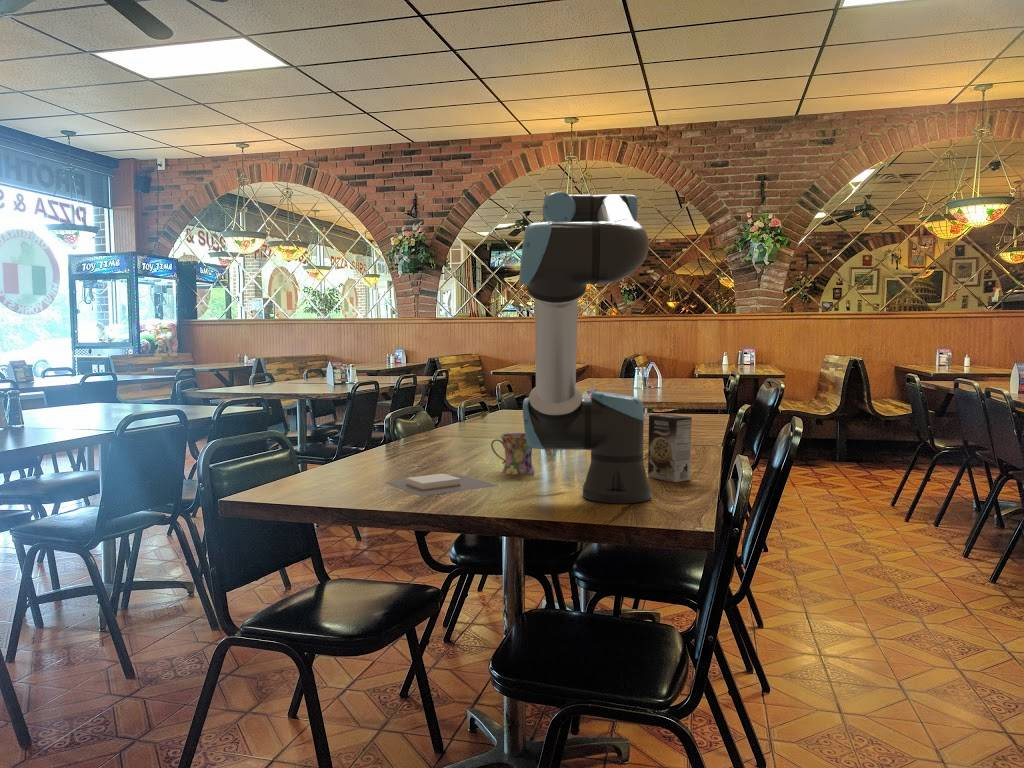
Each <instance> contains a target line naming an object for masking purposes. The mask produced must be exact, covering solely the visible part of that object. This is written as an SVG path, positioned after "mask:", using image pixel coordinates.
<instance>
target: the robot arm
mask: <svg viewBox="0 0 1024 768" xmlns="http://www.w3.org/2000/svg"><path fill="white" fill-rule="evenodd" d="M638 204H639V203H638V198H637V196H636V195H634V194H626V193H619V194H569V193H567V192H564V191H556V192H552V193H549V194H546V195H545V196H544V198H543V205H542V217H543V221H542V222H541V221H540V222H531V223H529V224H528V225H527V226H526V227H525V229H524V233H523V241H522V250H521V257H520V258H521V259H520V260H521V261H520V267H519V279H518V280H519V281H518V282H519V284H521V285H523V286H526V291H527V294H528V295H529V296H530V297H531V298H532V299H533V300H534V336H535V337H534V339H535V340H534V341H535V346H534V347H535V349H534V350H535V352H534V353H535V387H533V388H532V389H531V391H530V393H529V395H528V397H525V398H524V399H523V402H522V418H523V419H522V420H523V428H524V433H525V435H526V440H527V443H528V445H529V446H530V447H532V449H534V450H545V451H551V450H552V451H553V450H554V451H555V450H557V451H559V450H570V451H572V450H576V451H580V450H581V451H590V462H589V463H590V464H589V467H588V469H587V470H588V471H587V474H586V476H585V477H586V478H585V482H584V483H582V484H583V485H582V497H583V498H585V499H587V500H590V501H593V502H599V503H604V504H605V503H606V504H607V503H608V504H635V503H638V504H639V503H642V502H647V501H649V500H650V499H651V495H652V492H651V491H652V490H651V489H652V488H651V485H650V484H649V482H648V475H647V472H646V469H645V466H644V422H645V415H644V404H643V401H642V400H641V399H640V398H638V397H636V396H631V395H628V394H627V395H626V394H621V393H615V392H606V391H592V392H591V394H590V397H585V398H584V397H583V394H582V392H581V390H580V389H579V388H578V387H577V384H576V383H577V381H576V380H577V379H576V378H577V347H578V343H577V342H578V314H579V313H578V312H579V311H578V310H579V309H578V307H579V299H581V298H583V296H584V295H585V294H586V292H587V285H605V284H606V285H607V284H611V283H615V282H618V281H621V280H623V279H625V278H627V277H629V276H630V275H632V274H633V273H635V272H636V271H637V270H638V269H639V268H640V267H641V266H642V265H643V263H644V262H645V261H646V259H647V256H648V253H649V251H650V250H649V249H650V241H649V236H648V234H647V232H646V230H645V228H644V227H643V225H641V224H640V223H639V222H638V211H639V210H638V209H639V208H638V206H639V205H638Z"/></svg>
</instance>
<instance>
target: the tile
mask: <svg viewBox="0 0 1024 768" xmlns="http://www.w3.org/2000/svg"><path fill="white" fill-rule="evenodd" d="M450 475H451V474H447V473H436V474H427V475H420V476H413V477H412V476H410V477H406V478H405V480H406V485H409V486H411V487H414V488H417V489H420V490H430V489H437V488H445V487H452V486H460V485H461V479H460V478H457V477H454V476H450Z"/></svg>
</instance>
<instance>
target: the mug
mask: <svg viewBox="0 0 1024 768" xmlns="http://www.w3.org/2000/svg"><path fill="white" fill-rule="evenodd" d="M500 438H501V439H499V438H497V439H496V438H495V439H494V440H492V441H491V443H490V447H491V450H492V452H493V453H494V455H495V456H496V457H497V458H499V459H500V460H502V465H504V466H503V469H502V473H504V474H509V475H527V476H533V475H534V474H536V472H535V470H534V467H533V462H532V460H533V459H532V452H533V448H532V447H530V446H529V445H528V443H527V440H526V435H525V432H508V433H507V432H506V433H502V434H500ZM494 442H500V444H502V446H503V448H504V453H505V454H504V455H505V457H502V456H501V455H499V454H498V452H497V451H496V450H495V449H494Z"/></svg>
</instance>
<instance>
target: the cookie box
mask: <svg viewBox="0 0 1024 768" xmlns="http://www.w3.org/2000/svg"><path fill="white" fill-rule="evenodd" d="M692 421H693V420H692V417H690V416H684V415H683V416H682V415H677V414H676V415H675V414H668V413H664V414H663V413H662V414H660V413H658V414H657V413H655V414H649V415H648V445H647V446H648V449H647V450H648V451H647V452H648V458H647V460H648V461H647V478H652V479H656V480H660V481H666V482H670V483H679V482H684V481H685V482H686V481H690V479H691V450H692V447H691V446H692Z"/></svg>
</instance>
